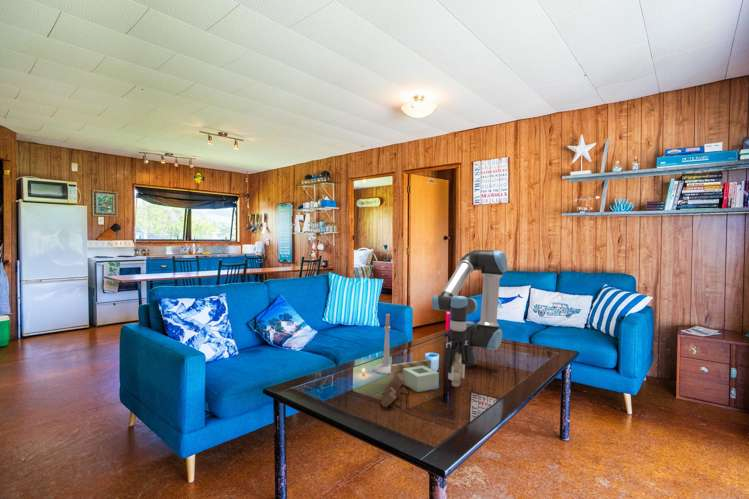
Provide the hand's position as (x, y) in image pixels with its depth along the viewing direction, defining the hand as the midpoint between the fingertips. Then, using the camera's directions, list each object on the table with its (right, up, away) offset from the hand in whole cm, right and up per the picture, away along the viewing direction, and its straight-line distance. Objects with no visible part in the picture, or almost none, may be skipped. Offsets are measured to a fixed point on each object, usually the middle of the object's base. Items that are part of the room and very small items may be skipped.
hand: (456, 378), depth 183 cm
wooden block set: (-31, -4, -15) cm, 35 cm away
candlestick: (-32, -3, +22) cm, 39 cm away
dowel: (0, -4, 0) cm, 4 cm away
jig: (-16, -4, -4) cm, 17 cm away
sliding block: (-17, -3, -2) cm, 18 cm away
